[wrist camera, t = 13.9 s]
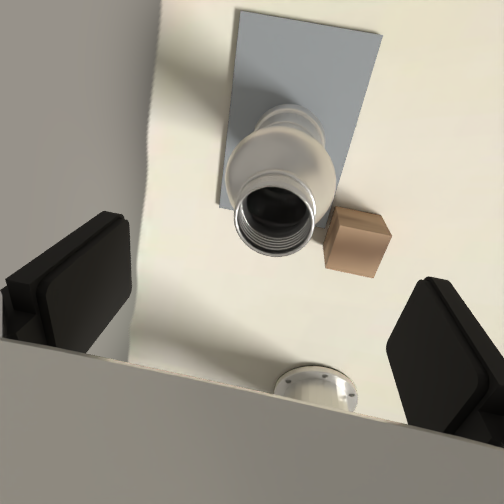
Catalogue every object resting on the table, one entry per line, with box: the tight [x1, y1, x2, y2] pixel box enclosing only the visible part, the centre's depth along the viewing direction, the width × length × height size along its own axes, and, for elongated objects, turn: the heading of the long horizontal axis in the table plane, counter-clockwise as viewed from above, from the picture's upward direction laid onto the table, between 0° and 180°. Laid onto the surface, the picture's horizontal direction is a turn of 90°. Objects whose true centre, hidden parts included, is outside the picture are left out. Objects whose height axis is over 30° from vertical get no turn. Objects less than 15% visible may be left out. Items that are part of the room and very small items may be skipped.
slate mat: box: [219, 11, 383, 228], centre depth 32 cm, size 18×12×1 cm, turn 171°
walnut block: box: [323, 206, 392, 278], centre depth 34 cm, size 5×5×5 cm
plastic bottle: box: [225, 104, 336, 257], centre depth 23 cm, size 6×7×20 cm
